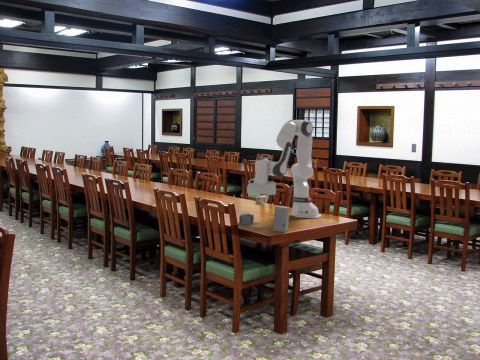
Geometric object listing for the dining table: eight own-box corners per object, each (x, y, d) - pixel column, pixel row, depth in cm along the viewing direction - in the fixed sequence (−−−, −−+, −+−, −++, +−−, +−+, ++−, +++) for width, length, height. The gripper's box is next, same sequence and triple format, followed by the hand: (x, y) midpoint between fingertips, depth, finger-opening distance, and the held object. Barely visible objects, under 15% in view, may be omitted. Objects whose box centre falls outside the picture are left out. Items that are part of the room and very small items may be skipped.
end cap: (253, 222, 349) (253, 213, 349) (249, 224, 341) (249, 215, 340) (243, 221, 352) (244, 212, 351) (239, 223, 343) (239, 214, 343)
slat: (261, 201, 358) (261, 195, 358) (267, 201, 357) (267, 195, 356) (255, 204, 345) (255, 198, 345) (260, 205, 344) (261, 198, 343)
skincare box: (272, 231, 322) (273, 206, 320) (276, 229, 328) (277, 205, 327) (285, 232, 319) (286, 207, 317) (289, 230, 325) (289, 206, 323)
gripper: (277, 180, 349) (277, 200, 350) (249, 179, 356) (249, 199, 357) (274, 181, 343) (274, 202, 344) (246, 180, 350) (246, 200, 351)
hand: (261, 200), depth 351 cm, fingers closed on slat, 4 cm apart
